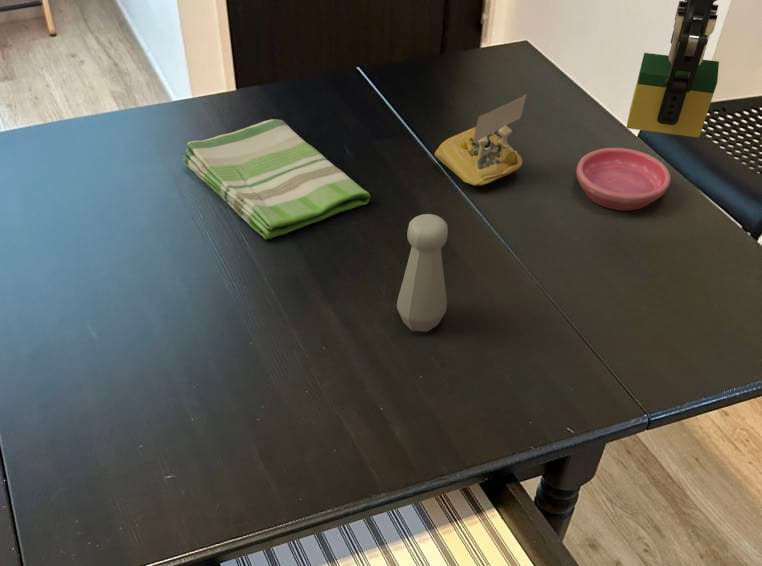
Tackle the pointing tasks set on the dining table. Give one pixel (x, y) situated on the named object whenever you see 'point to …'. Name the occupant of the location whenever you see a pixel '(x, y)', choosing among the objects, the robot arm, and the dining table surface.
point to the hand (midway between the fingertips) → (668, 110)
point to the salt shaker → (424, 274)
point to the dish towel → (273, 178)
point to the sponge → (653, 91)
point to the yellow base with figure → (484, 147)
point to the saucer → (622, 178)
